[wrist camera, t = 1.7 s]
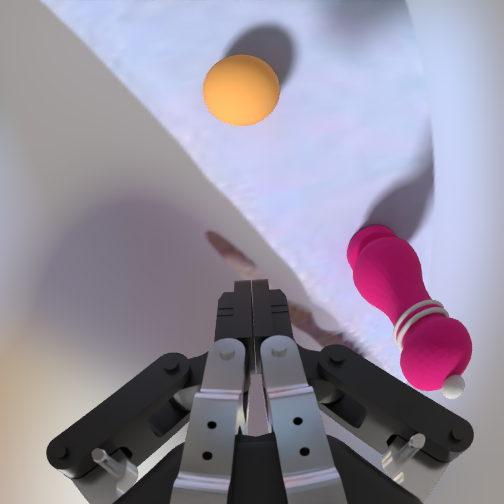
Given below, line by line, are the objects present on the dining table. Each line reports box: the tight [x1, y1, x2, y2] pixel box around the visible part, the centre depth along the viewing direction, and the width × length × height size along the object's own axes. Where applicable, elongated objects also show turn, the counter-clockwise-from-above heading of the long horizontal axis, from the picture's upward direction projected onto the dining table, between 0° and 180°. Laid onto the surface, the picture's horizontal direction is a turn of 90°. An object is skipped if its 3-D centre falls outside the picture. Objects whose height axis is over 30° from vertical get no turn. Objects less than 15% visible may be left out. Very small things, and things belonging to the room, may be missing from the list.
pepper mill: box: [347, 225, 472, 399], centre depth 23 cm, size 7×7×20 cm
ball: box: [203, 55, 280, 126], centre depth 21 cm, size 6×6×6 cm
